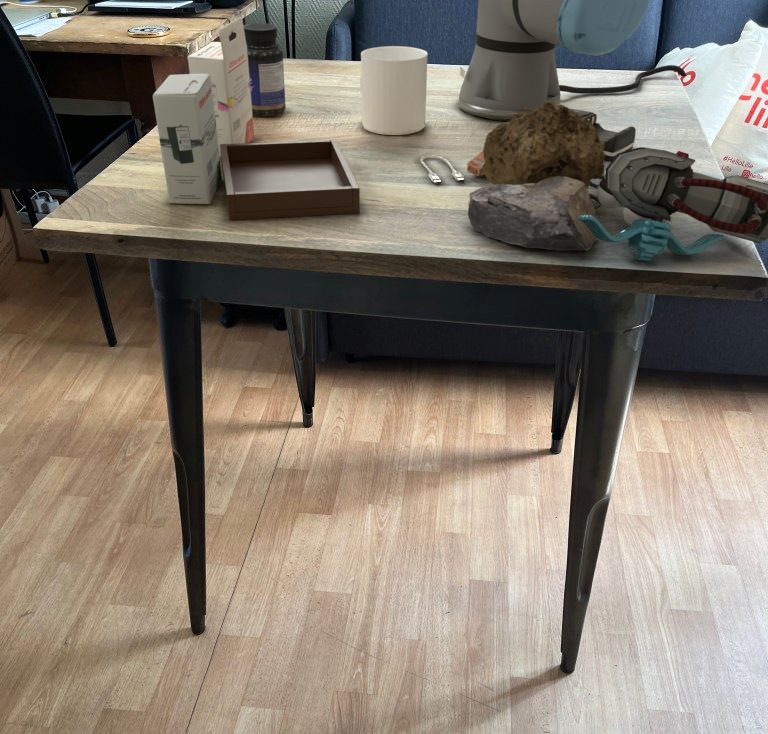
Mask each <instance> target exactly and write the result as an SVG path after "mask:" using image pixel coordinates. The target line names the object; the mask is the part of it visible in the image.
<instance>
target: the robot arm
mask: <svg viewBox="0 0 768 734" xmlns="http://www.w3.org/2000/svg"><path fill="white" fill-rule="evenodd" d="M650 1H651V0H478V4H477V5H478V6H477V16H476V17H477V19H476V34H475V43H474V44H475V45H474V51H473V54H472V56H471V59H470V62H469V65H468V68H467V70H466V71H465V70H464V69H463V67H462V66H460V67H459V75H460V76H461V78H463V80H462V81H463V82H462V84H461V87H460V92H459V97H458V106H459V108H460V109H461V110H462V111H463V112H466V113H467V114H469V115H473V116H475V117H479V118H483V119H489V120H495V121H505V122H509V121H511V119H512V117H513V115H514V114H516V113H519V112H522V110H523V109H525V108H531V109H533V110H534V109H537V108H538V107H539V106H541V105H543V104H544V103H545V102H547V101H551V102H552V103H556V104H558V105H561V92H563V93H564V92H565V93H570V94H577V95H578V94H580V95H583V94H585V95H588V94H590V95H592V94H593V95H595V94H596V95H597V94H615V93H623V92H628V91H633V90H635V89H637V88H639V86H640V85H641V82H642V81H641V79H643V78H646V77H650V76H652V75H656V74H660V73H663V72H676V73H677V74H679V76H680V77H684V78H685V77H687V73H686V71H685V70H684V69H683V68H682V67H681V66H678V65H675V64H669V65H667V64H666V65H662V66H657V67H655V68H652V69H648V70H645V71H641V72H639V73H638V74H637V75H636V77H635V81H634V82H633V83H630V84H624V85H620V86H606V87H578V86H577V87H576V86H570V85H565V84H560V82H559V75H558V68H557V62H556V56H555V55H556V54H555V52H556V46H557V47H561V48H563V49H565V50H566V51H568V52H570V53H572V54H574V53H576V54H583V55H588V56H602V55H606V54H609V53H611V52H613V51H615V50H617V49H618V48H619V47H620V46H621V45H622V43H624V42H626V41H628V40H629V39H630V38H631V37H632V36H633V34H635V32H636V31H637V29H638V28H639V26H640V24H642V21H643V19H644V17H645V15H646V13H647V11H648V8H649V5H650Z"/></svg>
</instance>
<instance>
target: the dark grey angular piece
mask: <svg viewBox="0 0 768 734" xmlns="http://www.w3.org/2000/svg"><path fill="white" fill-rule="evenodd" d="M569 109H570V110H571V111H575V112H576V113H577V114H578V115H581V116H582V117H584V118H585V119H587V120H589V121H591V122H592V124H593V127H594V128H595V131H596V133H597V134H598V136H599V139H600V140H601V141H602V142H604V144H605V147H604V150H603V151H604V153H605V157H604V160H606V161H609V162H611V161H612V160H613V159H614V158H615V156H616V155H617V154H618V153H622V152H625V151H629V150H632V149H634V146H635V143H636V132H637V129H636V127H635V126H631V125H630V126H628V127H626V128H624V129H623V130H620V131H613V130H609V129H605V128H603V127H602V126H601V124H600V122H599V123H598V122H597V115H598V114H597V113H594V112H593V111H587V110H582V109H573V108H569Z"/></svg>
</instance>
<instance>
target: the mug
mask: <svg viewBox="0 0 768 734" xmlns="http://www.w3.org/2000/svg"><path fill="white" fill-rule="evenodd" d="M427 79H428V52H427V51H426V50H424V49H421V48H418V47H413V46H403V45H402V46H401V45H388V46H386V45H385V46H384V45H383V46H376V47H371V48H367V49H364V50H362V51H361V52H360V78H359V84H360V94H361V125H362V127H363V128H364V130H366V131H368V132H369V133H373V134H377V135H385V136H386V135H387V136H403V135H411V134H415V133H417V132H420V131H422V130H423V129H424V128H425V126H426V114H427V84H428V83H427V81H428V80H427Z"/></svg>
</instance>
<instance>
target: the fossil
mask: <svg viewBox="0 0 768 734" xmlns="http://www.w3.org/2000/svg"><path fill="white" fill-rule="evenodd" d="M570 109H571V108H569V107H567V106H565V105H563V104H560V105H558V104H556V103H552V102H551V101H547V102H545V103H544V104H543V105H541V106H539V107H538V108H537V109H534V110H533V109H531V108H525V109H523V110H522V112H519V113H516V114H514V115H513V117H512V119H511V121H505V122H502V123H499V124H498V125H497V126H496V127H494V128H492V130H491V131H490V132H488V133H487V135H486V137H485V142H484V146H483V150H482V151H483V153H484V155H483V156H484V160H485V163H484V164H483V172H484V174H485V175H484V176H485V177H486V179H487V181H488V182H490V183H491V184H492V185H496V184H512V185H522V184H528V183H538V182H540V181H542V180H544V179H547V178H550V177H555V176H561V177H564V176H566V177H569V178H573V179H576V180H579V181H582V182H583V183H584V184H585V185H586V187H587V189H589V187H590V186H589V185H590V184H591V182H592V180H597V179H596V178H598V177H600V176H601V175H605V159H604V157H605V153H604V151H603V150H604V147H605V144H604V142H602V141H601V140H600V139H599V136H598V134H597V133H596V131H595V128H594V127H593V124H592V122H591V121H589V120H587V119H585V118H584V117H582V116H581V115H578V114H577V113H576V112H575V111H571V110H570ZM590 181H591V182H590Z"/></svg>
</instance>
